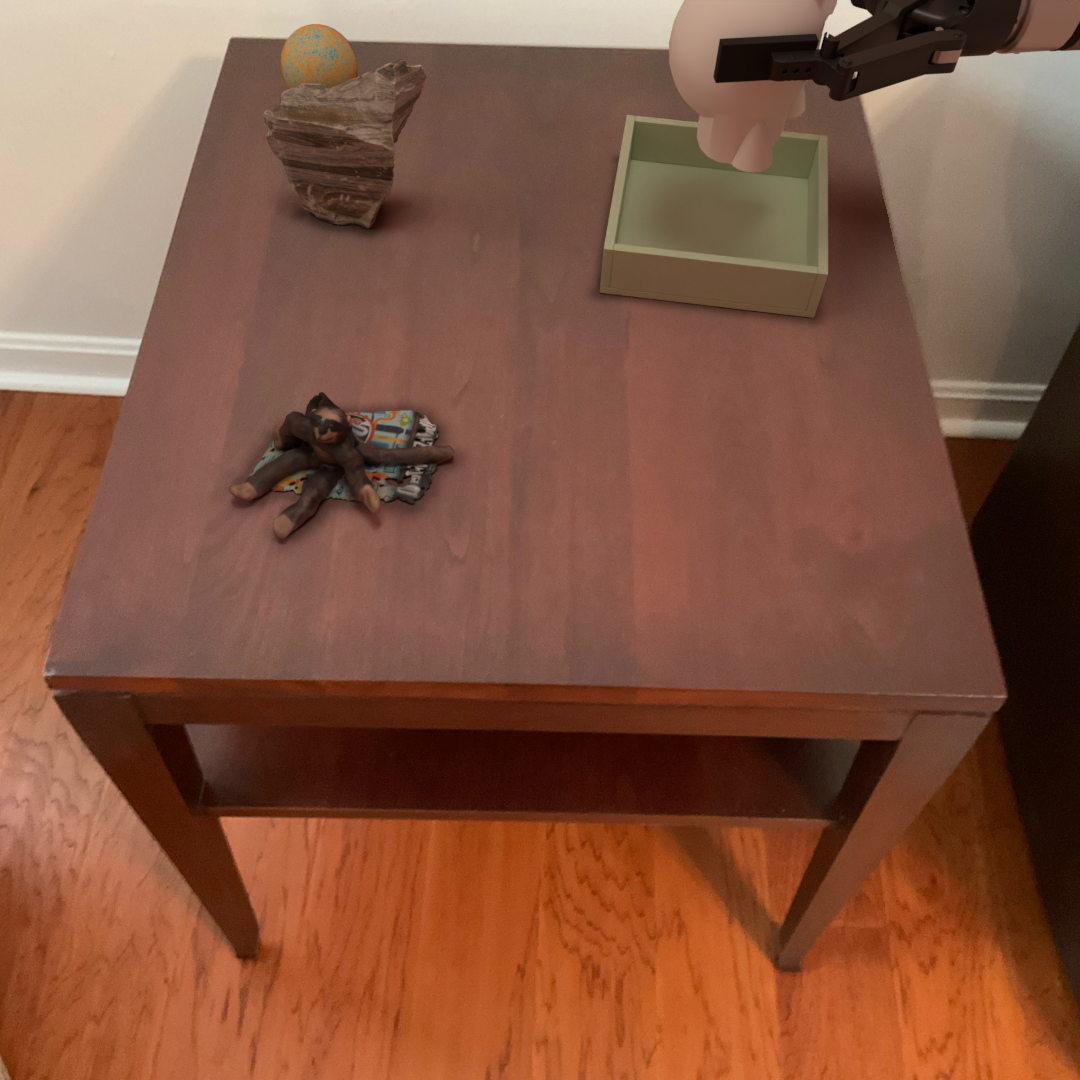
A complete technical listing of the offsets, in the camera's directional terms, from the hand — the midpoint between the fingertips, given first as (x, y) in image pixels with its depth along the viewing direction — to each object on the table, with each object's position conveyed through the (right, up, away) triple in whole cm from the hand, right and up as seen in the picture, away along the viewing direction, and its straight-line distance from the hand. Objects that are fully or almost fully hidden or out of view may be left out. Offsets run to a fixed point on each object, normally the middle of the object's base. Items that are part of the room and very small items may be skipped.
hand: (699, 12), depth 72 cm
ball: (-32, +5, +27) cm, 42 cm away
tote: (+4, -10, +17) cm, 20 cm away
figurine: (+4, -5, +8) cm, 10 cm away
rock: (-27, -8, +18) cm, 34 cm away
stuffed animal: (-25, -32, +3) cm, 41 cm away
